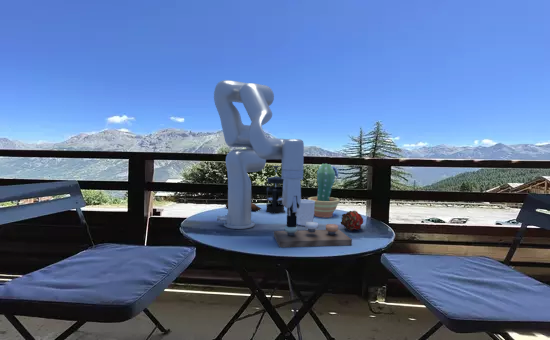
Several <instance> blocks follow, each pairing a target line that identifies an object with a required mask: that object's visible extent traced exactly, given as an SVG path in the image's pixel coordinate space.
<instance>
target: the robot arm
mask: <svg viewBox="0 0 550 340" xmlns="http://www.w3.org/2000/svg"><path fill="white" fill-rule="evenodd" d="M274 100H275V94H274V92H273V90H272V88H271V87H270V86H268V85H266V84H259V83H255V82H248V83H247V82H242V81H237V80H231V79H223V80H221V81H219V82H218V83H216V86H215V87H214V92H213V102H214V106H215V108H216V111H217V112H218V115H219V119H220V123H221V124H220V125H221V129H222V133H223V137H224V138H223V139H224V142H225V144H226V145H227V146H228V147H230V148H240V149H232V150H230V151H229V152H228V153H227V154H226V156H225V166H226V172H227V188H228V189H227V202H228V208H227V213H226V214H224V215H217V216H216V221H217V222H218V221H219V222H223V225H224V227H225V228H228V229H235V230H246V229H251V228H253V227H255V224H256V223H255V221H253V220H252V210H251V203H252V181H251V178H250V177H249V174H248V173H253V172H261V171H262V170H263V169H264V168H265V166H266V164H267V163H266V162H267V160H268V161H269V160H281V178H282V179H284V181H283V183H282V187H283V192H282V195H281V196H282V197H281V198H282V201H281V204H283V205H284V208H286V225H287V227H296V226H297V225H298V224H297V208H300V205H301V200H302V185H301V181H302V180H304V158H305V157H304V156H305V155H304V154H305V153H304V152H305V151H304V149H305V146H304V145H305V144H304V140H302V139H299V138H273V137H270V138H269V137H267V136H266V133H265V132H264V129H263V125H266V124H267V123H269V121H270V120H271V119H272V117H273V112H272V110H271V108H270V106H271V105H272V104H273V103H274ZM234 103H238V104H243V106H244V109H245V111H246V113H247V115H248V117H249V120H250V122H251V123H250V125H249V124H243V121H242V117H241V113H240V111H239V110H238V108H237V107H236V105H234ZM297 227H298V226H297Z"/></svg>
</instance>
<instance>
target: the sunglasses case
mask: <svg viewBox="0 0 550 340" xmlns="http://www.w3.org/2000/svg"><path fill="white" fill-rule="evenodd" d="M226 207H228V201H227V202H226V204H225V208H226ZM260 209H261V210H262V208H261V207H260V206H257V204H256V203H254V202H251V211H255V212H256V211H257V212H258V210H259V211H261V210H260Z"/></svg>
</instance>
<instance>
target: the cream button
mask: <svg viewBox="0 0 550 340" xmlns="http://www.w3.org/2000/svg"><path fill="white" fill-rule="evenodd" d="M304 228H305V229H307V230H308V232H311V233H313V232H315V230H319V223H318V222H317V221H313V222H306V226H304Z"/></svg>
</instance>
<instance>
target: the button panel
mask: <svg viewBox="0 0 550 340" xmlns="http://www.w3.org/2000/svg"><path fill="white" fill-rule="evenodd" d="M273 237H274V240H275V241H276V243H277V246H278V247H279V248H280V247H281V248H301V247H302V248H305V247H307V248H308V247H309V248H311V247H336V246H337V247H338V246H340V247H341V246H352V245H353V243H352V242H353V239H352V238H351V237H349V236H348V235H346V233H344V232H343V231H342V230H340V229H339V228H338V231H336V232H335V235H330V234H328V231H327V230H326V229H315V232H313V233H311V232H308V229H307V230H305V229H304V230H298V229H297V232H295V235H294V236H288V235H287V232H285V230H273Z"/></svg>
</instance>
